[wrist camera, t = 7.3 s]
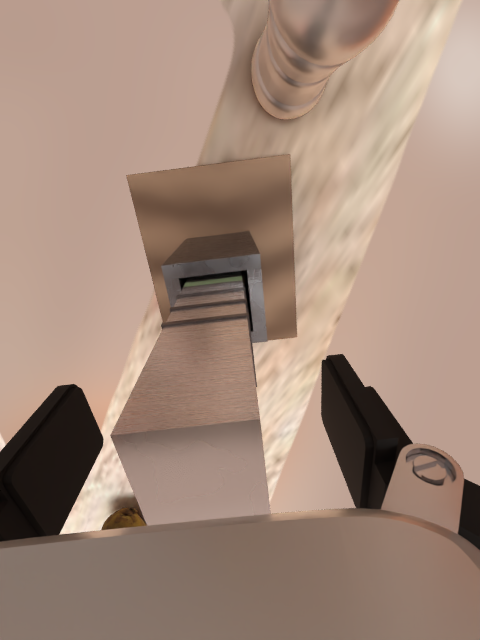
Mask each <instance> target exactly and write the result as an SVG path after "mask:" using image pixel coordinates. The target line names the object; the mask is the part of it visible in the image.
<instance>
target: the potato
mask: <svg viewBox="0 0 480 640" xmlns="http://www.w3.org/2000/svg"><path fill="white" fill-rule="evenodd" d="M137 512H138V511H137V510H136V509H135V508H130V509H129V508H122V509H121V510H119V511H117V512H115V513H114V514H112V515H111V516H110V517H108V519H107V520H106V521H105V523H104V524H103V527H102V530H109V529H119V528H129V527H139V526H147V525H146V523H145V522H144V521H143V520H142V519H141V518H140V517H139V516H138V514H137Z"/></svg>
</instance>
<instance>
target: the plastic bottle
mask: <svg viewBox="0 0 480 640" xmlns="http://www.w3.org/2000/svg"><path fill="white" fill-rule="evenodd" d="M268 2H269V13H268V22H267V25H266V28H265V29H264V30H263V32H262V34H261V36H260V38H259V40H258V42H257V44H256V47H255V50H254V53H253V57H252V64H251V77H252V83H253V87H254V90H255V93H256V96H257V99H258V100H259V102H260V104H261V106H262V107H263V108H264V109H265V110H266V111H267V112H268V113H269V114H270V115H272V116H274V117H276V118H279V119H293V118H297V117H300V116H302V115H304V114H306V113H307V112H309V111H310V110H311V109H312V108H313V107H314V106H315V105H316V104H317V103H318V101H319V99H320V98H321V96H322V94H323V92H324V90H325V88H326V85H327V82H328V80H329V77H330V75H331V74H332V73H333V72H334V71H335V70H336V69H337V68H338V67H340V66H341V65H343V64H344V63H346V62H348V61H349V60H351V59H352V58H354V57H356V56H357V55H358V54H359V53H361V52H362V51H363V50H364V49H366V48H367V47H368V46H369V45H370V44H371V43H372V42H374V41H375V39H376V38H377V37H378V36H379V35H380V34H381V32H382V31H383V30H384V29H385V27H386V26H387V24H388V22H389V21H390V19H391V17H392V16H393V14H394V12H395V9H396V7H397V5H398V2H399V0H268Z"/></svg>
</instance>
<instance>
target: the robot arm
mask: <svg viewBox="0 0 480 640" xmlns="http://www.w3.org/2000/svg"><path fill="white" fill-rule="evenodd" d="M321 411H322V412H321V415H322V420H323V424H324V427H325V429H326V432H327V434H328V437H329V440H330V442H331V445H332V447H333V450H334V453H335V455H336V457H337V460H338V463H339V465H340V468H341V471H342V473H343V476H344V478H345V481H346V483H347V486H348V489H349V491H350V494H351V496H352V499H353V501H354V504H355V506H356V508H349V509H324V510H311V511H298V512H285V513H274V514H263V515H252V516H242V517H231V518H220V519H210V520H199V521H189V522H179V523H169V524H159V525H149V526H139V527H129V528H119V529H109V530H100V531H90V532H81V533H71V534H62V535H59V534H60V532H61V530H62V528H63V526H64V524H65V522H66V519H67V517H68V515H69V513H70V511H71V509H72V507H73V505H74V503H75V501H76V499H77V497H78V495H79V493H80V491H81V489H82V487H83V485H84V483H85V481H86V479H87V477H88V475H89V473H90V471H91V469H92V467H93V465H94V463H95V461H96V459H97V457H98V455H99V453H100V451H101V449H102V446H103V436H102V434H101V432H100V429H99V427H98V425H97V422H96V420H95V418H94V416H93V413H92V411H91V409H90V406H89V404H88V402H87V399H86V397H85V395H84V393H83V391H82V389H81V388H79V387H78V386H77V385H75V384H71V385H62V386H58V387H57V388H55V389H54V391H53V392H52V393H51V394H50V395H49V396H48V398H47V399H46V400H45V401H44V402H43V403H42V405H41V406H40V407H39V408H38V409H37V410H36V411H35V412H34V414H33V415H32V416H31V417H30V418H29V419H28V420H27V422H26V423H25V424H24V425H23V426H22V428H21V429H20V430H19V431H18V432H17V433H16V434H15V436H14V437H13V438H12V439H11V440H10V441H9V442H8V443H7V445H6V446H5V447H4V448H3V449H2V450H1V452H0V640H480V486H479V485H477V484H475V483H472V482H470V481H468V480H466V479H464V475H463V471H462V469H461V467H460V465H459V464H458V463H457V462H456V461H455V460H454V459H453V458H452V457H451V456H450V455H448V454H447V453H446V452H444V451H442V450H440V449H438V448H436V447H434V446H430V445H426V444H418V443H416V444H413V443H412V441H411V440H410V439H409V437H408V436H407V435H406V433H405V432H404V430H403V429H402V428H401V426H400V424H399V423H398V422H397V420H396V419H395V418H394V416H393V415H392V413H391V412H390V411H389V409H388V407H387V406H386V405H385V403H384V402H383V401H382V399H381V398H380V396H379V395H378V393H377V392H376V391H375V389H374V388H373V387H371V386H369V387H364V385H363V383H362V382H361V380H360V379H359V377H358V376H357V374H356V373H355V371H354V370H353V368H352V367H351V365H350V364H349V362H348V361H347V359H346V358H345V356H344V355H343V354H338V355H329V356H327V358H326V360H322V397H321Z"/></svg>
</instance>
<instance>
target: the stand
mask: <svg viewBox="0 0 480 640" xmlns="http://www.w3.org/2000/svg"><path fill="white" fill-rule="evenodd" d="M127 180H128V183H129V188H130V192H131V196H132V200H133V204H134V208H135V212H136V216H137V220H138V224H139V228H140V232H141V236H142V240H143V244H144V248H145V252H146V256H147V260H148V264H149V268H150V272H151V276H152V279H153V284H154V288H155V292H156V296H157V300H158V304H159V308H160V312H161V316H162V320H163V323H164V322H166V321H167V319H168V317H169V315H170V310H169V309H170V307H174V305H175V303H176V301H177V300H176V296H177V295H180V293H181V291H182V289H183V287H184V285H185V283H186V281H187V279H188V277H192V276H201V275H209V274H217V273H226V272H234V271H241V274H242V281H243V287H245V292H246V298H247V307H248V313H249V320H250V329H251V338H252V343H257V342H266V341H268V340H276V339H285V338H294V337H297V325H296V297H295V270H294V243H293V216H292V189H291V161H290V154H288V155H280V156H272V157H265V158H257V159H249V160H241V161H233V162H226V163H218V164H210V165H202V166H194V167H187V168H179V169H171V170H163V171H156V172H149V173H141V174H133V175H127Z"/></svg>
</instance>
